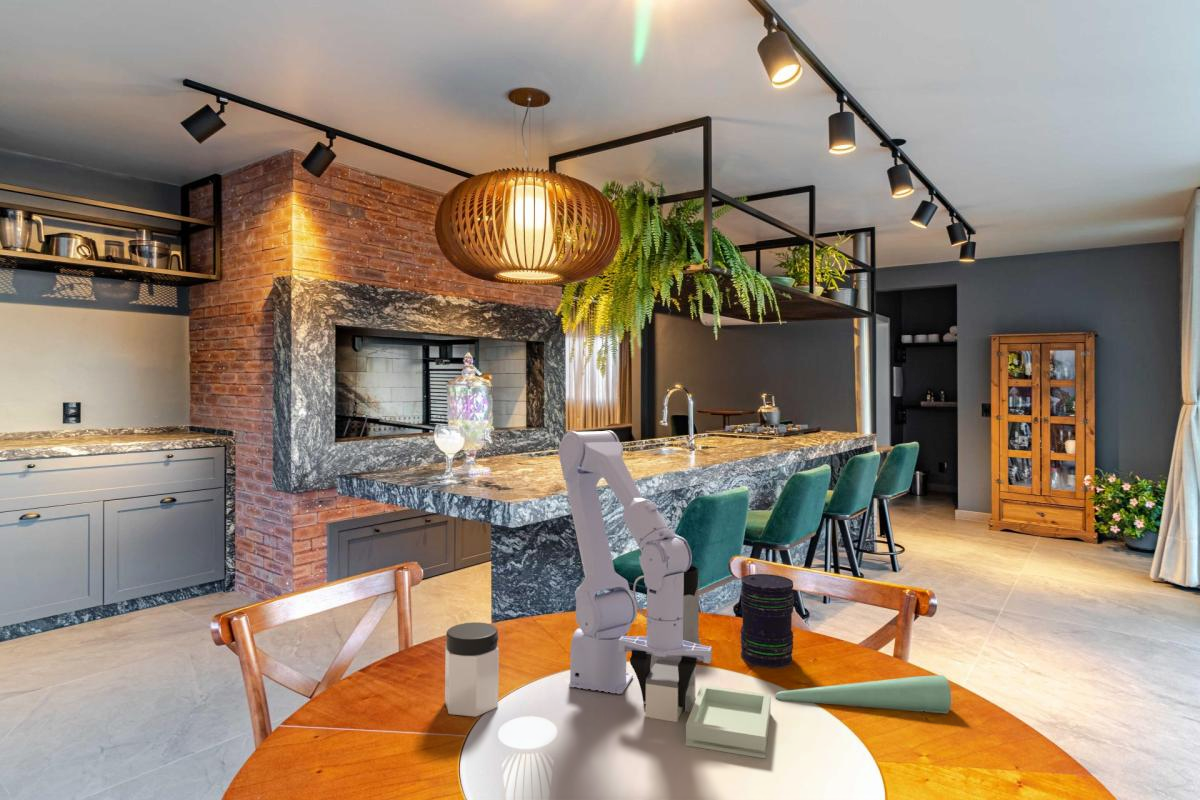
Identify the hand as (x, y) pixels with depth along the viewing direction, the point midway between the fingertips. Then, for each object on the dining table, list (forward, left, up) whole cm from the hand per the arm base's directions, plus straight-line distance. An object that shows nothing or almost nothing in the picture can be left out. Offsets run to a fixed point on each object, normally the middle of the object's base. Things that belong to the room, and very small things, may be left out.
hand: (663, 701), depth 105 cm
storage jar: (+14, +29, -2) cm, 32 cm away
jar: (-30, -7, -2) cm, 31 cm away
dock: (0, +5, -2) cm, 5 cm away
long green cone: (+30, +14, -2) cm, 33 cm away
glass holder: (-6, +31, -2) cm, 32 cm away
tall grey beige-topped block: (0, +2, -2) cm, 3 cm away
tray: (+10, -1, -2) cm, 11 cm away
